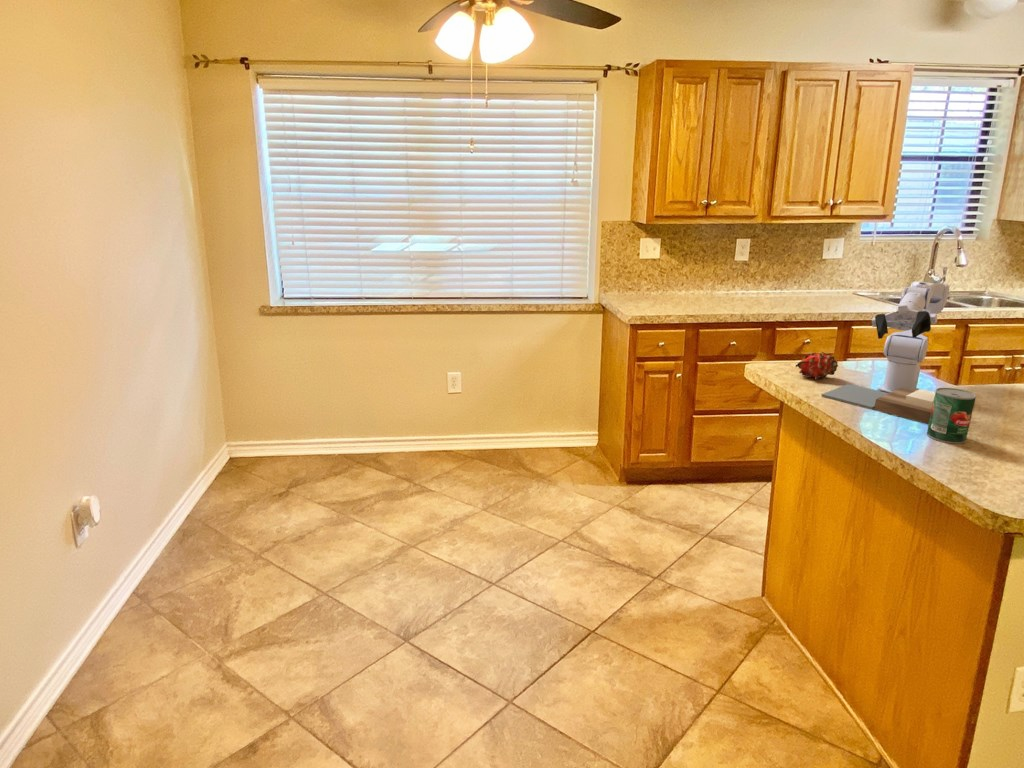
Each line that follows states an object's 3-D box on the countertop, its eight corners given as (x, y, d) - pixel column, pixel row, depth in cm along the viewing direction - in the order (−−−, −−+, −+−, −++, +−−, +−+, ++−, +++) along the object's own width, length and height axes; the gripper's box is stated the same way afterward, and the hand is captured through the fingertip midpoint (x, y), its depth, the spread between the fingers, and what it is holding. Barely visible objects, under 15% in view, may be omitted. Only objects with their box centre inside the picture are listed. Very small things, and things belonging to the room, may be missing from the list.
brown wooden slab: (899, 397, 184) (901, 387, 183) (956, 411, 174) (959, 400, 173) (873, 409, 174) (876, 398, 173) (933, 425, 164) (935, 413, 163)
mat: (848, 385, 194) (848, 383, 194) (897, 397, 185) (898, 395, 184) (821, 396, 185) (821, 394, 184) (871, 409, 175) (872, 407, 175)
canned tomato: (929, 428, 162) (938, 385, 158) (968, 436, 157) (978, 392, 154) (923, 438, 156) (933, 393, 153) (963, 446, 151) (974, 400, 148)
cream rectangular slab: (918, 396, 176) (920, 389, 176) (944, 402, 172) (945, 394, 171) (904, 403, 171) (906, 395, 170) (930, 409, 166) (932, 401, 166)
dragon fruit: (839, 385, 200) (796, 387, 203) (833, 362, 205) (791, 365, 208) (843, 367, 194) (799, 370, 196) (837, 344, 199) (794, 348, 202)
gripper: (875, 300, 180) (862, 321, 172) (938, 295, 170) (927, 318, 162) (879, 323, 183) (866, 346, 174) (941, 320, 173) (931, 344, 164)
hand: (896, 334), depth 168 cm, fingers open, 7 cm apart
